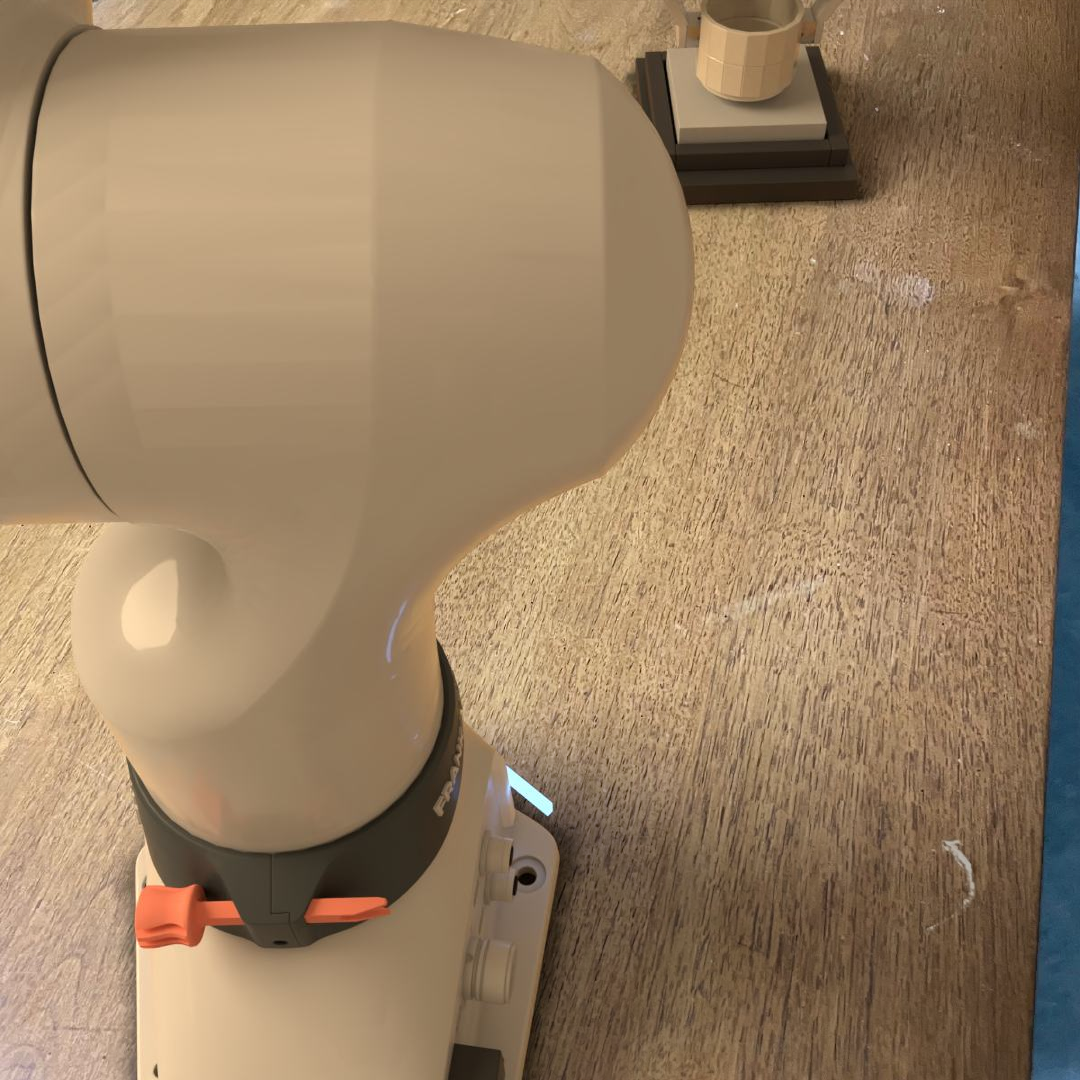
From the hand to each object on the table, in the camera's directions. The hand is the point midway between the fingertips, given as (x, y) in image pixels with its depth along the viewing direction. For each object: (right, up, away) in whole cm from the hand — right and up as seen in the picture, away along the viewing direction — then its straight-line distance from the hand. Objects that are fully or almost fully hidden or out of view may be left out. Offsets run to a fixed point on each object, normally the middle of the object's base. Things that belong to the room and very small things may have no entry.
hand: (748, 41), depth 82 cm
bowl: (0, -2, +2) cm, 2 cm away
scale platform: (0, -3, +4) cm, 5 cm away
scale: (0, -4, +6) cm, 7 cm away
